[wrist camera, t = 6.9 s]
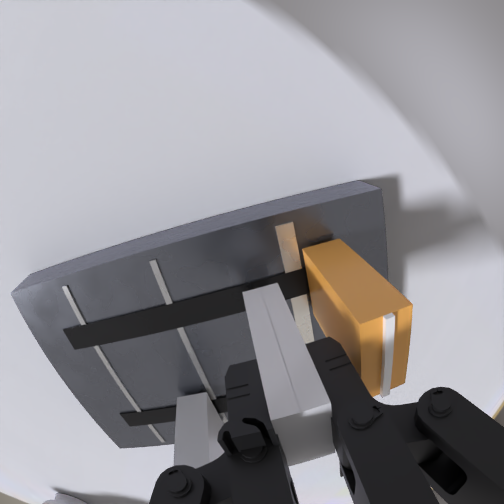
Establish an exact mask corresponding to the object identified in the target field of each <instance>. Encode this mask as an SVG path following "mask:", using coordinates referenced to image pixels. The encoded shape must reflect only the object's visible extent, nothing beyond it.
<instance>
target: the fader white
mask: <svg viewBox="0 0 504 504" xmlns="http://www.w3.org/2000/svg"><path fill="white" fill-rule="evenodd" d="M222 426H223V422H222V420H221V418H220V416H219V414H218V413H217V411H216V409H215V407H214V405H213V403H212V401H211V399H210V398H209V396H208V394H207V392H204V393H199V394H194V395H188V396H183V397H177V408H176V425H175V446H174V466H175V465H187V466H191V467H194V468H195V469H196V468H198V467H201V466H203V465H205V464H208V463H210V462H212V461H214V460H215V459H217V458H219V457H220V456H221V455H222V454H223V453H224V450H223V449H222V447H221V446H220V444H219V443H218V441H217V438H218V432H219V430H220V429H221V427H222Z"/></svg>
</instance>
